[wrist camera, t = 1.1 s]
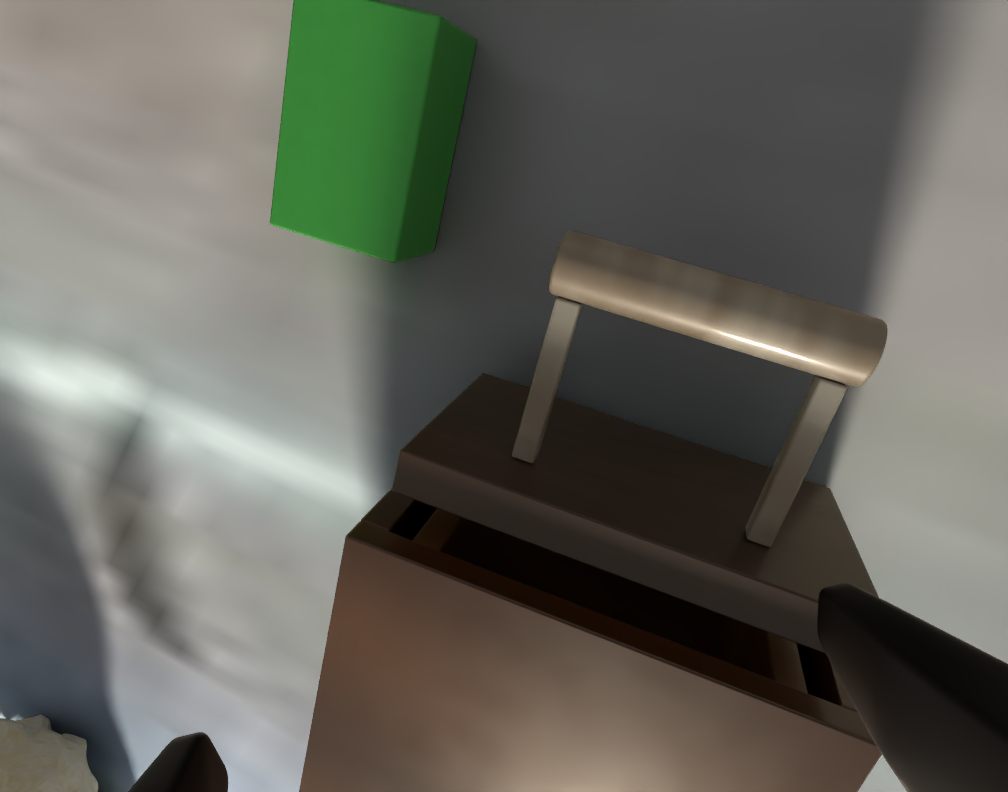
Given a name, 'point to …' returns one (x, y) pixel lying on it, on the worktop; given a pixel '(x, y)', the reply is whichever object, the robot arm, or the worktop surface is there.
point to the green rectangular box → (369, 125)
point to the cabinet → (546, 691)
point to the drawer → (654, 471)
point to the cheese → (42, 758)
